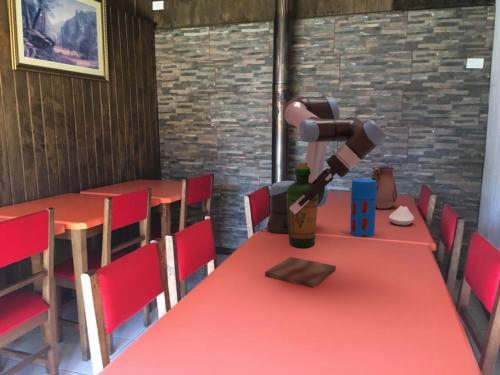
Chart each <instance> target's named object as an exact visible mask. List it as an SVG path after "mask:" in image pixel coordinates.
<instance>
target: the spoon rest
mask: <svg viewBox="0 0 500 375" xmlns="http://www.w3.org/2000/svg"><path fill="white" fill-rule="evenodd" d="M388 218H389V220H390V221H391V222H392V224H395V225H397V226H408V225H410V224H411V223H413V221H414V220H415V216H414V215H413V214H412V212H411V210H409V208H408V206H402V205H399V207H397V209H396V210H394V211H393V212H392V213H391V214H389V215H388Z"/></svg>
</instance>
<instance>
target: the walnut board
mask: <svg viewBox="0 0 500 375" xmlns="http://www.w3.org/2000/svg"><path fill="white" fill-rule="evenodd" d="M336 269H337V266H336V265H333V264H328V263H323V262H319V261H313V260H309V259H303V258H300V257H299V258H298V257H293V256H289V257H288V258H287V257H286V259H284V260H282V261H281V262H279V263H277V264H276V265H273V266H272V267H271V268H269V269H267V270H265V271H264V276H265V277H266V278H267V277H268V278H273V279H276V280H281V281H284V282H290V283H292V284H297V285H301V286H304V287H305V286H306V287H309V288H315V287H317V286H318V285H319V284H320V283H322V282H323V281H324V280H325V279H327V278H328V277H329V276H331V275H332V274H333V273H334V272H336Z"/></svg>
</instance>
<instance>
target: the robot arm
mask: <svg viewBox="0 0 500 375" xmlns="http://www.w3.org/2000/svg"><path fill="white" fill-rule="evenodd" d="M282 116H283V119H284V121H286V122H287V123H288V125H290V126H294V127H296V128H297V129H298V132H299V133H298V135H299V139H300V141H301V142H303V143H306V142H307V147H306V155H305V161H304V163H308V164H307V167H310V172H311V174H310V175H309V182H310V183H312V184H313V186H312V187H311V188H310V189H309V191H308V192H307V193H305V192H303V193H302V194H303V196H302V197H300V198H299V199H298V200H297V201H296V202H295V203H294V204H293V205H292V206H291V207H290V208H289V209H290V210H291V211H292V212H293V213H294V214H296V213H297V212H298V211H299V210H300V209H301V208H303V207H304V206H305V205H306V204H307V203H308V202H309V201H310V200H313V198H314V197H315V196H316V195H317V194H318V206H317V208H321V207H323V206H325V204H326V202H327V199H328V194H329V193H328V191H329V190H328V189H329V188H328V186H327V185H328V184H330V183H331V182H333V180H334V176H335V175H336V174H337V175H338V176H339V177H340V178H344V177H345V176H346V175H347V174H348V173H349V172H350V169H354V167H355V166H356V165H357V166H359V165H360V162H361V161H362V160H363V159H364V158H366V156H367V155H369V154H370V153H371V152H372V151H373V150H374V149H375V148H376V147H378V146H379V145H380V143H381V142H382V141H384V139H385V138H386V136H387V135H386V132H385V131H384V129H383V128H382V127H381V126H380V125H379V124H378V123H377V122H376V121H374V120H372V119H370V120H368V121H367V122H363V121H362V120H361V119H360V118H358V117H356V116H353V115H346V116H345V117H343V118H340V116H341V115H340V107H339V103H338V101H337V99H336V97H333V96H324V95H323V96H299V97H293V98H292V99H290V100H289V101H288V102H286V104H285V105H284V107H283V111H282ZM328 142H331V143H332V142H335V143H337V142H344V143H343V144H342V145H340V147H339V148H338V149H337V150H336V151H335V154H331V155H330V157H329V158H328V159H326V153H327V148H328ZM325 160H326V165H327V166H328V167H329V168H325V169H324V166H325ZM295 182H296V181H295V180H283V181H282V180H281V181H278V182H274V183H272V185H270V192H269V195H270V214H269V217H268V221H267V223H266V230H267V231H268V232H269V233H270V232H271V233H274V234H289V232H288V214H287V196H286V191H287V189H288V188H289V186H291V185H292V184H293V183H295Z"/></svg>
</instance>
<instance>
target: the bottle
mask: <svg viewBox="0 0 500 375" xmlns="http://www.w3.org/2000/svg"><path fill="white" fill-rule="evenodd" d="M307 164H308V163H305V162H297V166H295V168H294V172H293V174H294V175H295V180H296V181H294V182H295V183H293V184H292V185H291V186H289V188H288V189H287V191H286V196H287V214H288V232H289V233H288V245H290V247H292V248H295V249H300V250H306V249H307V250H308V249H311V248H313V247H315V244H316V230H317V217H318V207H317V206H318V194H317V195H316V196H315V197H314V198H313V200H310V201H309V202H308V203H307V204H306V205H305V206H304V207H303V208H301V209H300V210H299V211H298V212H297V213H296V214H294V213H293V212H292V211H291V210H290V209H289V208H290V207H291V206H292V205H293V204H294V203H295V202H296V201H297V200H298V199H299V198H300V197H302V196H303V194H302V193H303V192H305V193H307V192H308V191H309V189H310V188H311V187H312V186H313V184H312V183H310V182H309V175H310V174H311V172H310V167H307Z"/></svg>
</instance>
